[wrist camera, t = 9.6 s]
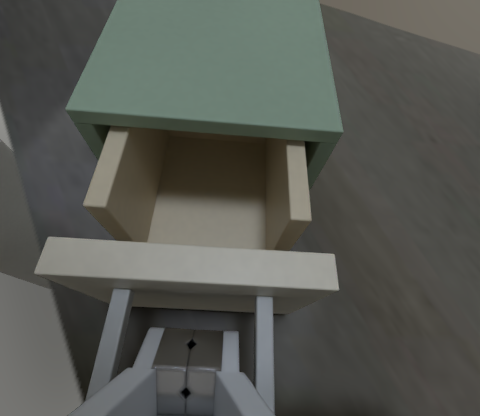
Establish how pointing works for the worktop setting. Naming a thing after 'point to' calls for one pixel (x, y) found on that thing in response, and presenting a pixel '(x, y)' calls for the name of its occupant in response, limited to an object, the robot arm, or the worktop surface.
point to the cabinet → (213, 73)
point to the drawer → (194, 236)
